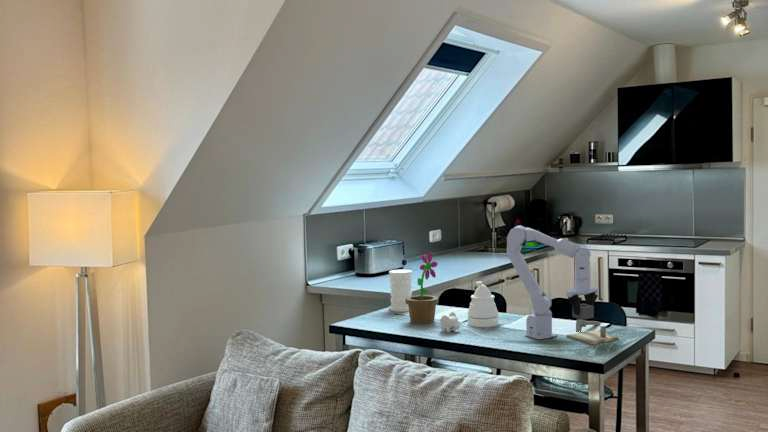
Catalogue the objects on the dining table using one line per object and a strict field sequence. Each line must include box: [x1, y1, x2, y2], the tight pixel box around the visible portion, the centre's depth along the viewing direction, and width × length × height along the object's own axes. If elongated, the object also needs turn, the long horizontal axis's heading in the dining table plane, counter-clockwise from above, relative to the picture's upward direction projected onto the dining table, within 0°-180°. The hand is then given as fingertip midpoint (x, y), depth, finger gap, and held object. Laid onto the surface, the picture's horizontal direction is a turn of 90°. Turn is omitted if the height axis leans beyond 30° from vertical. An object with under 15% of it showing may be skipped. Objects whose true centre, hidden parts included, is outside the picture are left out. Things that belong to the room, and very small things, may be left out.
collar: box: [571, 303, 595, 320], centre depth 281 cm, size 6×6×4 cm
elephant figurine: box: [439, 311, 463, 333], centre depth 299 cm, size 8×10×7 cm
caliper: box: [575, 318, 601, 333], centre depth 298 cm, size 21×1×6 cm, turn 140°
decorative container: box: [388, 269, 413, 313], centre depth 346 cm, size 12×12×18 cm
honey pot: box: [467, 281, 499, 328], centre depth 311 cm, size 13×13×18 cm
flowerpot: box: [405, 251, 440, 325], centre depth 318 cm, size 14×14×30 cm
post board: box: [566, 325, 620, 345], centre depth 281 cm, size 14×13×5 cm
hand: (583, 313), depth 282 cm, fingers closed on collar, 6 cm apart
